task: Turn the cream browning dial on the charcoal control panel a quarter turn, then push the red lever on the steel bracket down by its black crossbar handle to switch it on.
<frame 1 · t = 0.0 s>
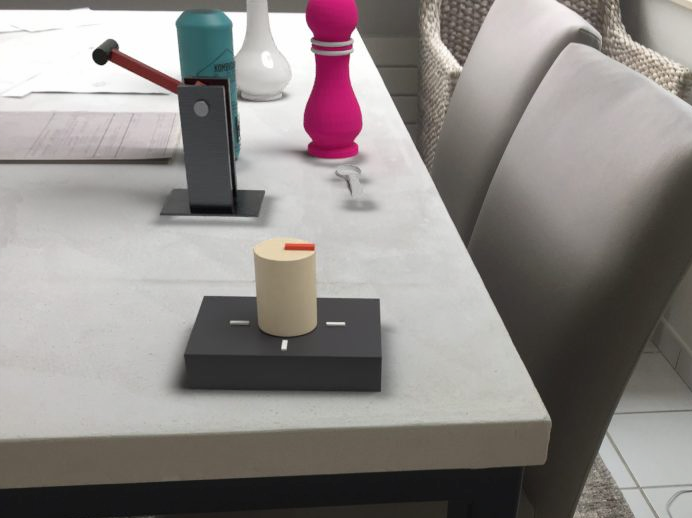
flower vase: (266, 98, 136), on the table
dial panel: (289, 360, 69), on the table
beverage bottle: (216, 168, 108), on the table
pepper mill: (333, 161, 111), on the table
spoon: (353, 194, 101), on the table
browning dial: (286, 285, 65), point 6 cm above the table, hinge at 0.0°
lever bracket: (215, 212, 95), on the table
red lever: (159, 78, 87), point 13 cm above the table, hinge at 25.0°
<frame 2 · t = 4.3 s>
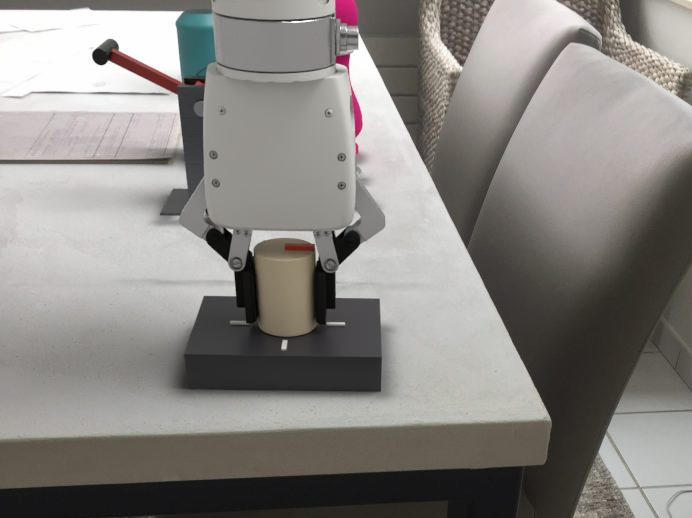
hand: (287, 313, 67), 4 cm above the table, tool pointing down, fingers closed on browning dial, 4 cm apart
browning dial: (286, 285, 65), point 6 cm above the table, hinge at 0.1°, touching gripper
everything else where it was.
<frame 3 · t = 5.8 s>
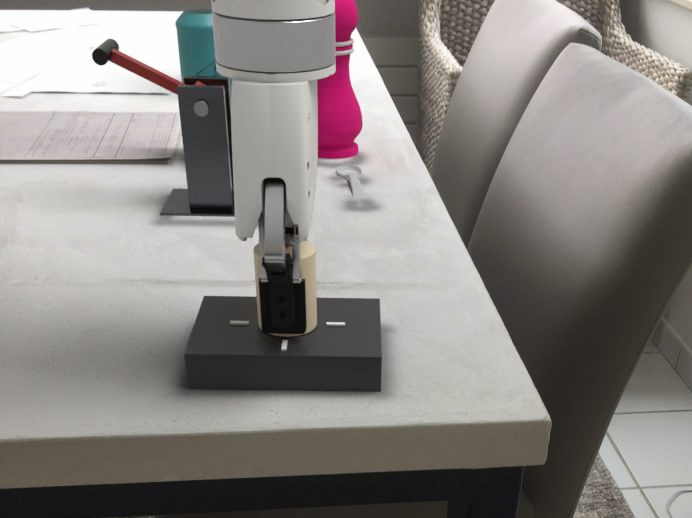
hand: (287, 314, 67), 4 cm above the table, tool pointing down, fingers closed on browning dial, 4 cm apart
browning dial: (286, 285, 65), point 6 cm above the table, hinge at 89.6°, touching gripper
everything else where it was.
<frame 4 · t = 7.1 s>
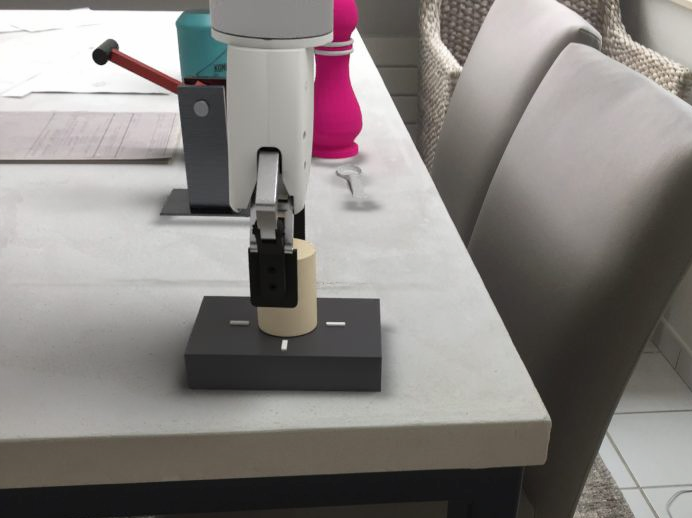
hand: (279, 276, 65), 7 cm above the table, tool pointing down, fingers open, 9 cm apart
browning dial: (286, 285, 65), point 6 cm above the table, hinge at 87.3°
everything else where it was.
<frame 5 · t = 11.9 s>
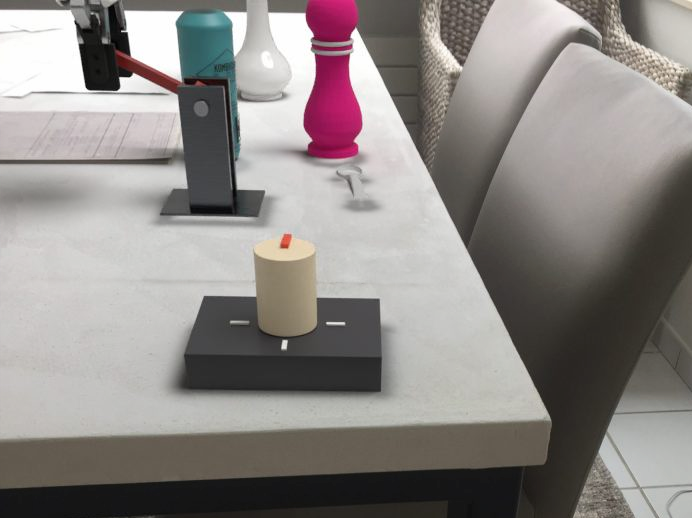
hand: (110, 81, 87), 13 cm above the table, tool pointing down, fingers closed on red lever, 5 cm apart
red lever: (159, 78, 87), point 13 cm above the table, hinge at 25.0°, touching gripper
everything else where it was.
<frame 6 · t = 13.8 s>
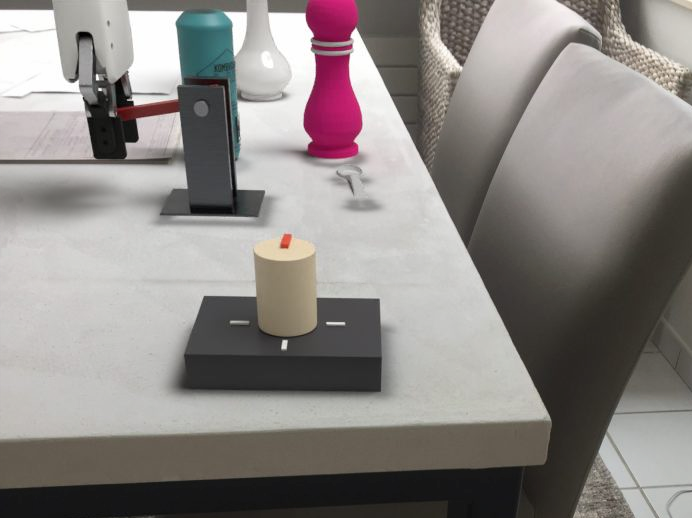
hand: (117, 148, 91), 6 cm above the table, tool pointing down, fingers closed on red lever, 5 cm apart
red lever: (159, 108, 88), point 10 cm above the table, hinge at -9.2°, touching gripper
everything else where it was.
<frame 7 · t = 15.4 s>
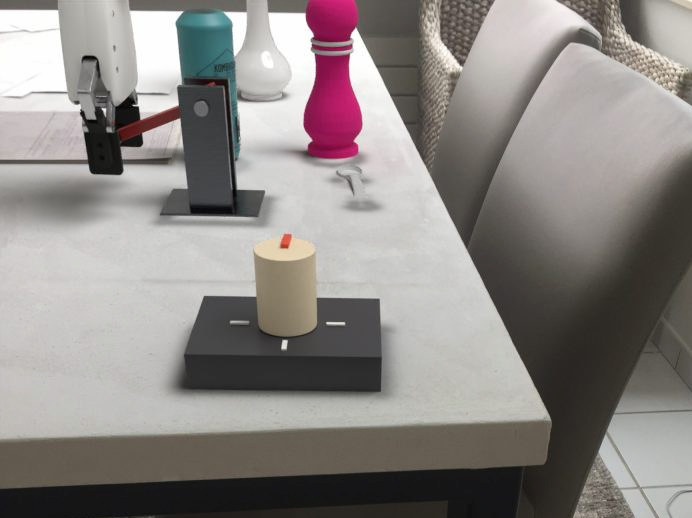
hand: (118, 159, 91), 5 cm above the table, tool pointing down, fingers open, 9 cm apart
red lever: (163, 118, 89), point 9 cm above the table, hinge at -20.6°
everything else where it was.
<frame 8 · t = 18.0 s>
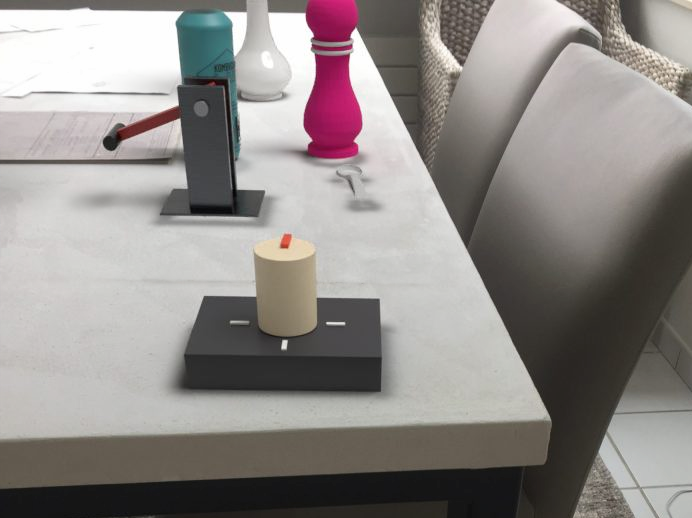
nothing on the table moved.
at the end: browning dial at +87° (first picture: +0°); red lever at -21° (first picture: +25°) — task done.
